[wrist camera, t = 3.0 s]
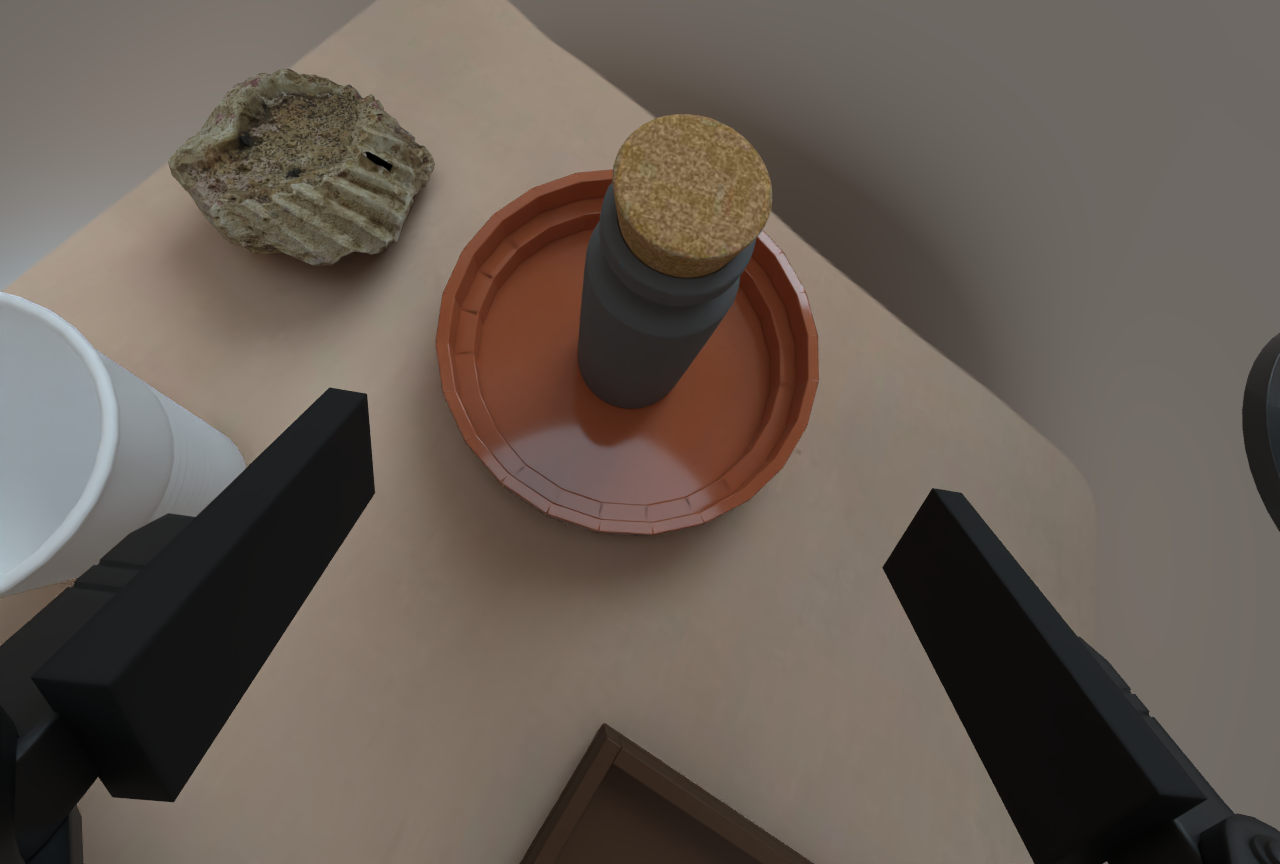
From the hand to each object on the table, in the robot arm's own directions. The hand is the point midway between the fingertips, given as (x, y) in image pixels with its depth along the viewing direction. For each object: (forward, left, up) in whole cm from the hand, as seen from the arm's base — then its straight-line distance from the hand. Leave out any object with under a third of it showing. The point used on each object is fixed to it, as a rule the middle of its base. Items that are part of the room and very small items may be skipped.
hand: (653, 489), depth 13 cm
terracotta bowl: (+4, -8, -16) cm, 18 cm away
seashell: (+22, -6, -16) cm, 28 cm away
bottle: (+4, -8, -16) cm, 18 cm away
